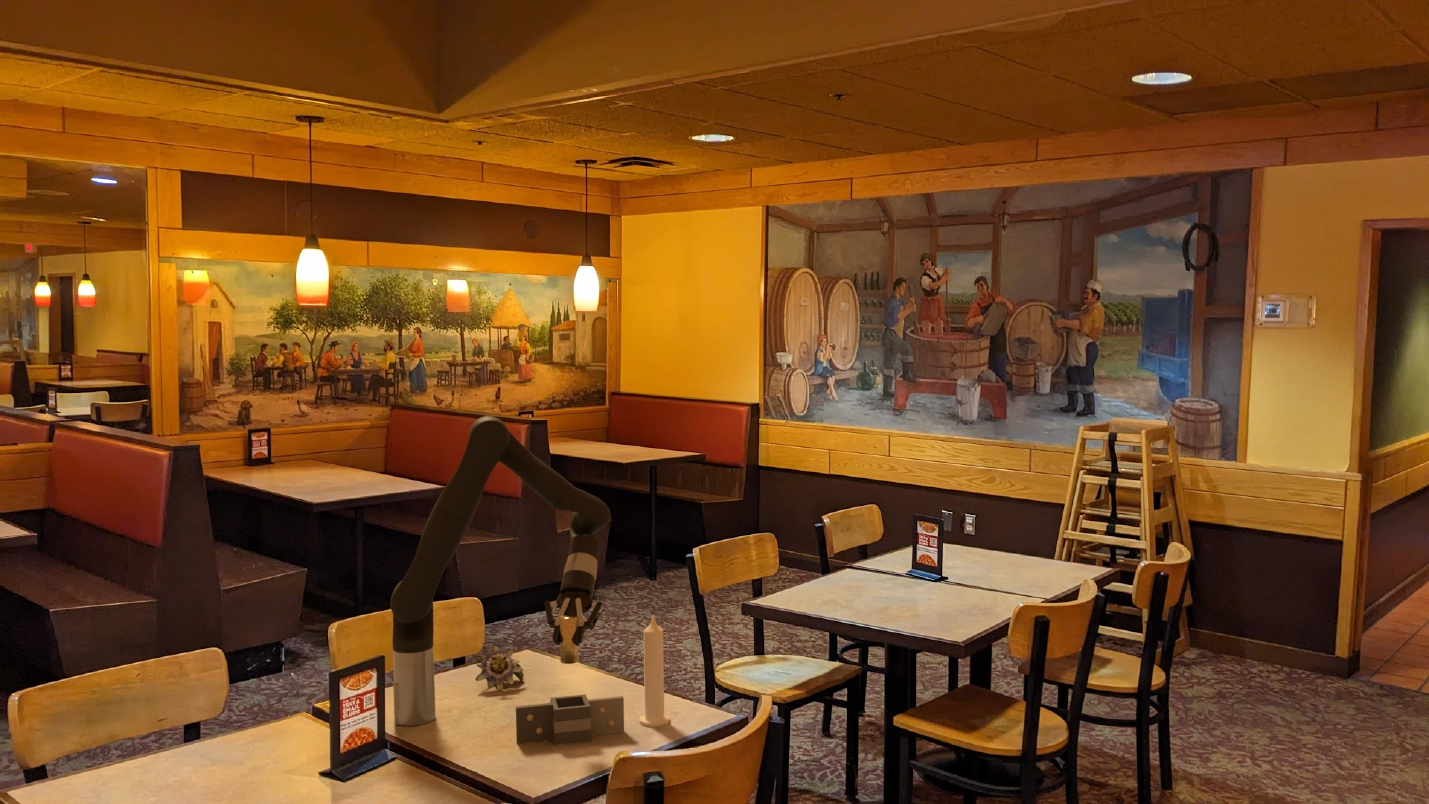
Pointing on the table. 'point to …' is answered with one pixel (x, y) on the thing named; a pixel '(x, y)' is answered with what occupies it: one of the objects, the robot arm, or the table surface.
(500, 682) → the passion flower
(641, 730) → the table surface
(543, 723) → the hinge
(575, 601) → the robot arm
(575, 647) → the amber cylinder
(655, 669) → the candle
